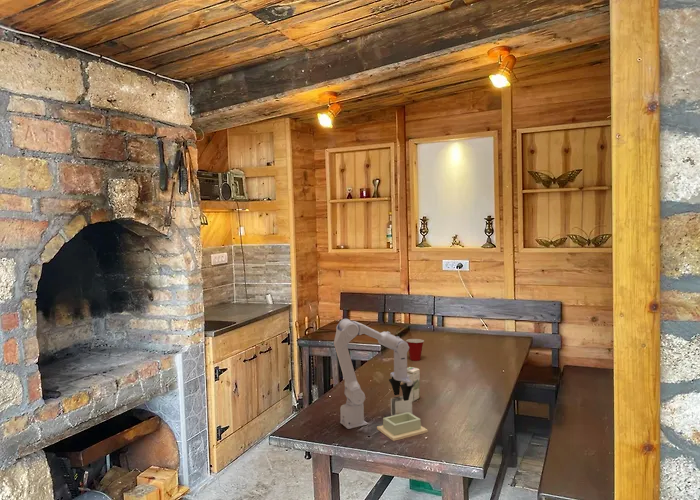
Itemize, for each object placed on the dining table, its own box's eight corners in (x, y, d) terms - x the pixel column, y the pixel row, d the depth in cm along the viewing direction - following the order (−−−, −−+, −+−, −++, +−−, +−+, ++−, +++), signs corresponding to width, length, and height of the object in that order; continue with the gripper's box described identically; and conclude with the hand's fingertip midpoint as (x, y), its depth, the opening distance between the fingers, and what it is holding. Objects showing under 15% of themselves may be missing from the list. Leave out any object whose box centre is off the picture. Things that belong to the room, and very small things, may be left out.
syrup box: (409, 396, 250) (409, 366, 249) (420, 398, 247) (419, 368, 245) (403, 399, 246) (402, 369, 245) (413, 402, 242) (413, 371, 241)
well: (393, 441, 202) (393, 428, 201) (376, 429, 213) (376, 417, 213) (427, 432, 209) (427, 420, 208) (409, 421, 220) (409, 409, 220)
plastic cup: (427, 358, 314) (426, 338, 313) (421, 362, 304) (420, 342, 303) (410, 356, 319) (409, 336, 318) (403, 361, 309) (403, 341, 308)
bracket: (396, 419, 222) (396, 401, 222) (391, 416, 226) (390, 398, 226) (412, 416, 226) (411, 398, 225) (406, 412, 230) (406, 394, 229)
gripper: (417, 369, 220) (418, 400, 221) (399, 361, 233) (400, 390, 234) (403, 372, 217) (404, 404, 218) (385, 363, 230) (386, 393, 231)
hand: (401, 397), depth 226 cm, fingers open, 7 cm apart
